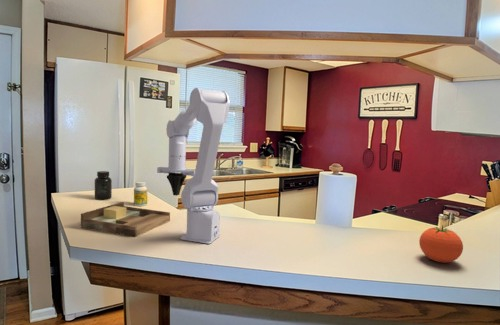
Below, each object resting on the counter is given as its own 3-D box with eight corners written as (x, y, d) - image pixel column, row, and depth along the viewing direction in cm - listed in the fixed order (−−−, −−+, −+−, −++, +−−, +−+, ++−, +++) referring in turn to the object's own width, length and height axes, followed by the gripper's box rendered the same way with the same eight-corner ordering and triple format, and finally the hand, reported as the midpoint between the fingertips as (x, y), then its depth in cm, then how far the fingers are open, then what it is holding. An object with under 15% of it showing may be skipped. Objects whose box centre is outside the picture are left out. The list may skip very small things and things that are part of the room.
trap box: (169, 220, 113) (170, 208, 113) (135, 237, 95) (135, 222, 95) (122, 213, 120) (122, 201, 119) (81, 227, 101) (80, 213, 101)
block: (126, 215, 110) (126, 207, 110) (116, 219, 106) (116, 210, 105) (114, 213, 112) (114, 205, 112) (103, 217, 107) (103, 209, 107)
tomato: (445, 254, 93) (448, 220, 92) (470, 269, 83) (474, 232, 82) (410, 253, 93) (413, 219, 92) (431, 268, 82) (435, 230, 81)
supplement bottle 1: (98, 196, 145) (98, 170, 144) (113, 197, 146) (113, 171, 145) (91, 200, 139) (91, 172, 137) (108, 200, 139) (108, 173, 138)
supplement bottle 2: (148, 203, 137) (148, 181, 136) (146, 206, 132) (146, 183, 131) (135, 203, 136) (135, 181, 135) (132, 206, 131) (132, 183, 130)
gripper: (201, 156, 113) (200, 195, 114) (165, 154, 117) (164, 190, 118) (191, 158, 106) (190, 198, 107) (153, 155, 110) (153, 194, 112)
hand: (176, 194), depth 112 cm, fingers closed
